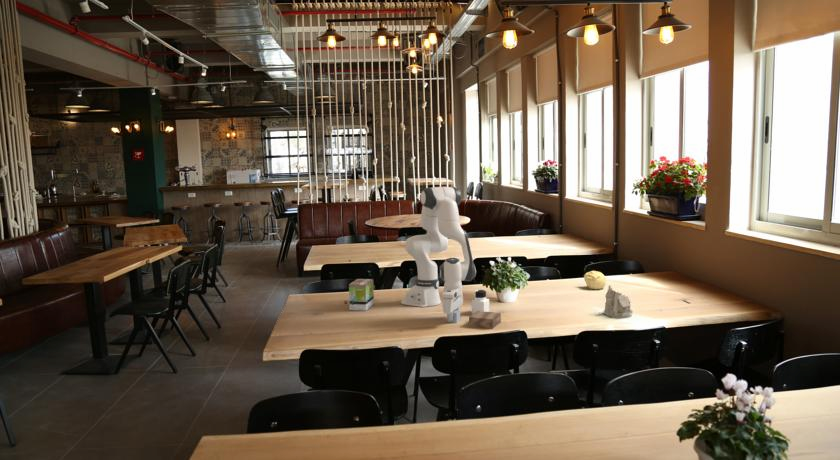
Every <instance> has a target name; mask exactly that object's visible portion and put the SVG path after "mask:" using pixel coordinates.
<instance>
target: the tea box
mask: <svg viewBox="0 0 840 460" xmlns="http://www.w3.org/2000/svg"><path fill="white" fill-rule="evenodd" d="M374 289H375V288H374V279H373V278H356V279H354V281H352V282H350V283H349V284H348V293H349V294H348V295H349V297H348V298H349V300H348V301H349V310H350V311H365V312H366V311H367V310H369V309H370V308H371V307H372V306H373V305H374V304H375V299H374V298H375V293H374V292H375V291H374Z"/></svg>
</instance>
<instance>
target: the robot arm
mask: <svg viewBox="0 0 840 460" xmlns="http://www.w3.org/2000/svg"><path fill="white" fill-rule="evenodd" d="M419 197H420V198H419V201H420V203H421V205H422V208H421V214H420V221H419V223H420V226H421V228H422V229H423V230H425V231H426V233H425V234H418V235H413V236H410V237H408V238H406V240H405V244H404V249H405V251H406V253H407V254H409V255H410V256H411V257H412V258H413V260H415V263H416V268H417V278H415V279H414V281H413V282H414V284H415V285H413V286H412V287H410V288H409V290H407V291H406V293H405V295H404V296H405V297H404V298H403V299H402V300H401V303H400V304H401V305H406V306H411V307H420V308H425V307H431V306H432V307H433V306H437V305H442V313H444V314H446V315H447V314H448V315H449V319H450V320H453V319H454V316H453V311H454V310H459V311H460V307H461V306H463V305H464V295H463V284H462V281H463V282H471V281H473V280H474V279H475V277H476V275H477V270H476V266H475V263H474V259H473V254H472V250H471V246H470V240H469V236H468V234H467V231H466V230H464V229H463V228H462V226H461V223H460V214H459V212H460V211H459V207H458V206H459V205H460V204H461V201H462V192H461V190H460V188H458V187H455V186H435V187H425V188H423V189H422V190H421V192H420V196H419ZM449 240H452V241H455V242H457V243H458V244H460V246H461V251H462V255H463V261H460V259H459V258H456V257H448V258H446V259H445V261H444V262H442V264H440V265H439V274H438V265H437V263H436V262H435V261H434V260H432V259H430V256H429V255H431V254H437V253H438V254H439V253H442V252H445V251H446V250H448V247H449ZM438 275H439V276H438ZM439 278H440V279H441V280H442V281H444V283H443V286H444V288H443V290H442V292H441V296H440V293H439V290H440V289H439V286H440V281H439ZM441 298H442V301H441Z"/></svg>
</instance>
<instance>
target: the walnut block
mask: <svg viewBox="0 0 840 460" xmlns="http://www.w3.org/2000/svg"><path fill="white" fill-rule="evenodd" d="M501 315H502V314H501V312H493V311H489V312H484V311H477V312H475V313H474V314H471V315H470V316H469V317H468V325H469V327H473V328H479V329H480V328H482V329H494V328H495V327H497V326H498V325H499V324H500V323H501V322H502V321H501V320H502V317H501Z"/></svg>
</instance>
